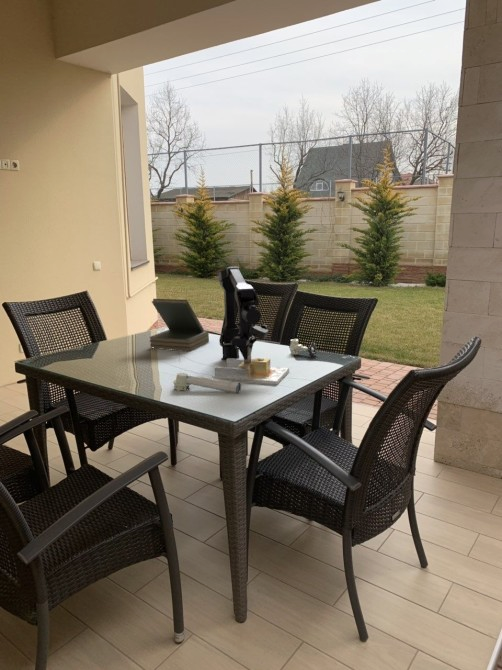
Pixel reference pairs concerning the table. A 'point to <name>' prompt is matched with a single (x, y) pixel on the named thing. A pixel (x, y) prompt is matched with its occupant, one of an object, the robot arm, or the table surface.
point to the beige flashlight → (205, 383)
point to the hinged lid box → (178, 326)
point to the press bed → (243, 374)
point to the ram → (247, 362)
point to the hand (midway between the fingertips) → (247, 358)
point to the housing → (260, 366)
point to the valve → (296, 347)
